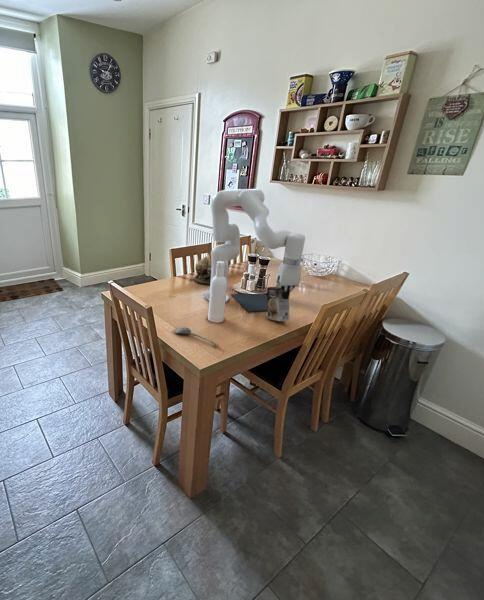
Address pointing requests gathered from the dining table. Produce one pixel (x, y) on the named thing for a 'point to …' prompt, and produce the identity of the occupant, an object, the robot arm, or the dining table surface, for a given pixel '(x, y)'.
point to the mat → (252, 301)
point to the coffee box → (277, 304)
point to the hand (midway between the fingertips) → (285, 298)
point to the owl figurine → (203, 271)
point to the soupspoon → (188, 331)
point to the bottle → (217, 295)
